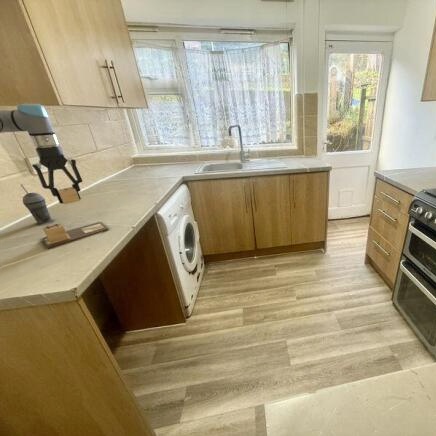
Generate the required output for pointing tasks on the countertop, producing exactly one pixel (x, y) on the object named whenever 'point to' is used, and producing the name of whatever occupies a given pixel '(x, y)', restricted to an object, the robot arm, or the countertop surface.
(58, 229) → the tan toy block
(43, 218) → the beverage cup
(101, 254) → the countertop surface
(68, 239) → the word board
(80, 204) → the countertop surface
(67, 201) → the tan wooden cube
